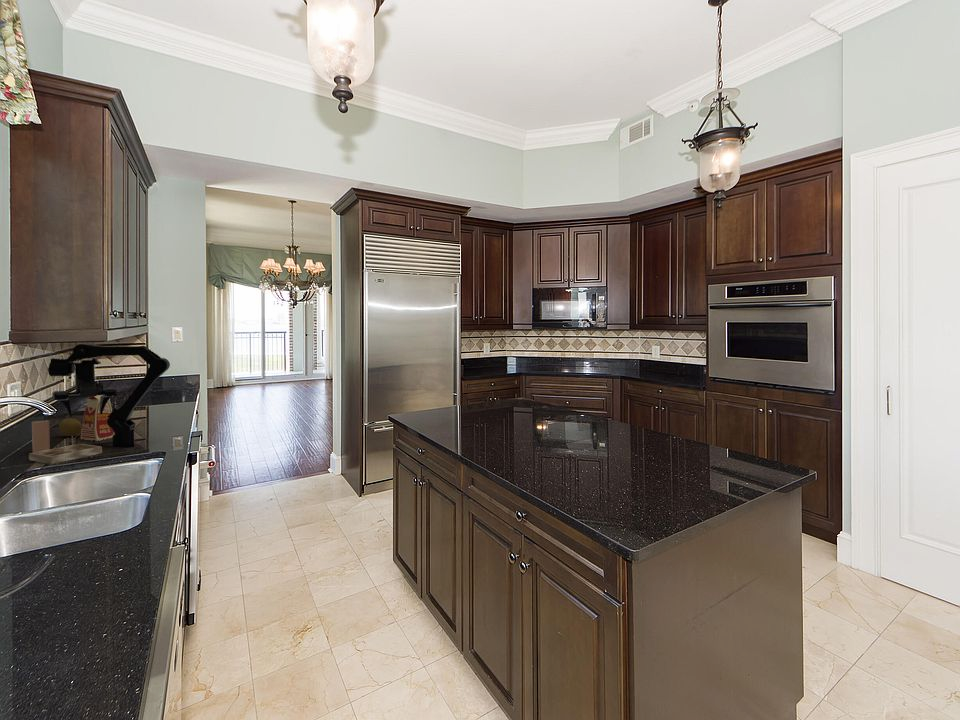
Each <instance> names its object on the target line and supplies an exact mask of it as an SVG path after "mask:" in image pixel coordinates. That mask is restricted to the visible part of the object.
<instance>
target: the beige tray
mask: <svg viewBox="0 0 960 720" xmlns="http://www.w3.org/2000/svg"><path fill="white" fill-rule="evenodd" d="M100 454H103V447H102V446H101V445H93V444H86V443H78V444H71V445H65V446H61V447H60V446H59V447H55V448H50V449H49V450H44V451H39V452H34V453H33V452H29V453H28V460H29V461H32V462H37V463H42V464H49V465H54V464H58V463H63V462H68V461H73V460H77V459H81V458H82V459H83V458H87V457H90V456H95V455H100Z"/></svg>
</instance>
